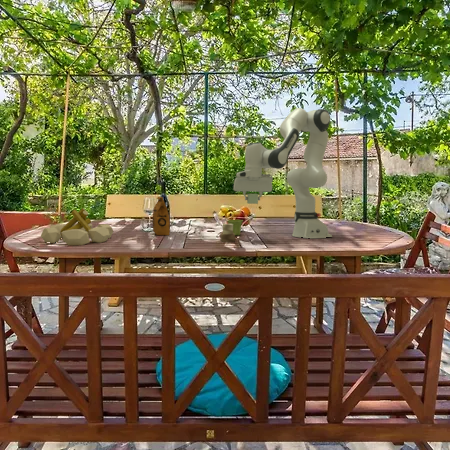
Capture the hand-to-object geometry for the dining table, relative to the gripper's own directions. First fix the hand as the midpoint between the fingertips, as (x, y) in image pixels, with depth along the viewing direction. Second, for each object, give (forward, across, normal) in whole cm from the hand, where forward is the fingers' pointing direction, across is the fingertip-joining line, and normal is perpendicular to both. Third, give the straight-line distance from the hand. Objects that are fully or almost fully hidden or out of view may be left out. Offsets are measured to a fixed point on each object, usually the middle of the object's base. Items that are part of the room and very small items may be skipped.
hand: (252, 200), depth 215 cm
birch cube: (+18, +13, 0) cm, 22 cm away
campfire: (+24, +91, -6) cm, 95 cm away
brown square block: (+22, +13, 0) cm, 25 cm away
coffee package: (+22, +50, -27) cm, 60 cm away
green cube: (+2, 0, 0) cm, 2 cm away
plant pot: (+22, +7, -22) cm, 32 cm away
